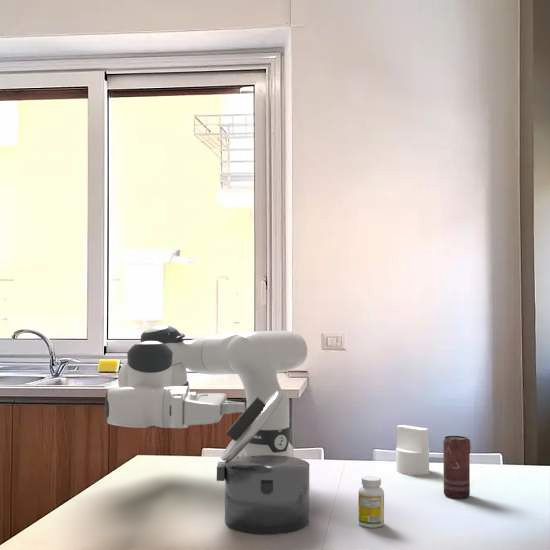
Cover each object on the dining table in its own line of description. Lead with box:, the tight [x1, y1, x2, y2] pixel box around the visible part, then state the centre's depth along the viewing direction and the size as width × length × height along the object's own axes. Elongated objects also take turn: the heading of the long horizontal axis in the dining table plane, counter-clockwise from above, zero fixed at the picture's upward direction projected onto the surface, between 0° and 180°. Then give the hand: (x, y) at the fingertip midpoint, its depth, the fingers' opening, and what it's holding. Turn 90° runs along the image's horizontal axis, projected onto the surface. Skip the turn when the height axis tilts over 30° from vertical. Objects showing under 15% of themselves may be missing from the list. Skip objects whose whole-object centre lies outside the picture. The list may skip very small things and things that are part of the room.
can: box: [442, 435, 472, 500], centre depth 171 cm, size 6×6×14 cm
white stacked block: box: [395, 424, 430, 476], centre depth 196 cm, size 9×9×12 cm
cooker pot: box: [216, 455, 310, 535], centre depth 152 cm, size 20×23×12 cm
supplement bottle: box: [357, 475, 385, 529], centre depth 149 cm, size 5×5×10 cm
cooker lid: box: [220, 391, 283, 463], centre depth 152 cm, size 19×19×4 cm
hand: (245, 407), depth 151 cm, fingers closed, pressing on cooker lid
